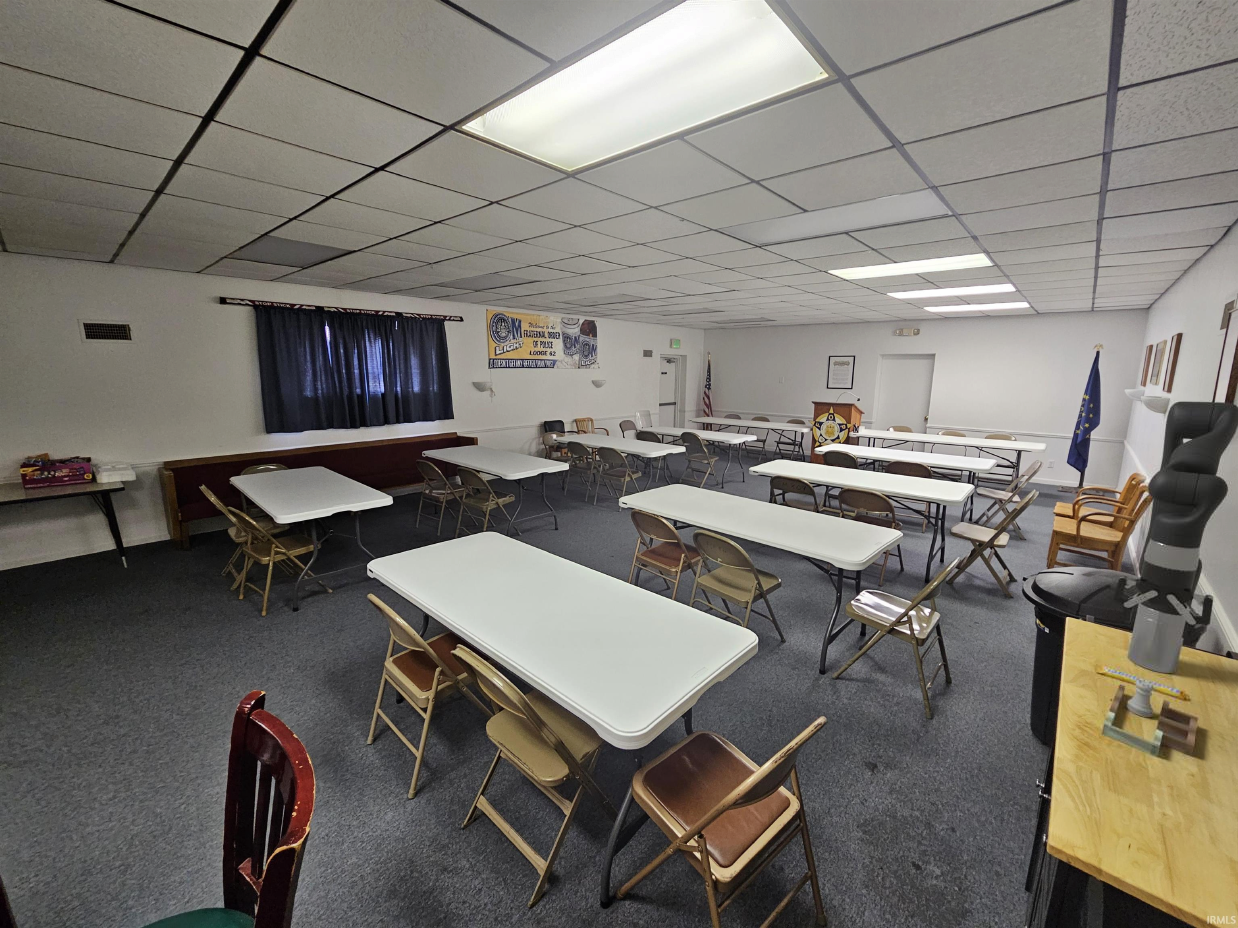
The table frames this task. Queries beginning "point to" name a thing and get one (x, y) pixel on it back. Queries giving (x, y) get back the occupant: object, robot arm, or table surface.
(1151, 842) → the table surface
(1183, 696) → the candy bar
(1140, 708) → the rook chess piece
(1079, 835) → the table surface
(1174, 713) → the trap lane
